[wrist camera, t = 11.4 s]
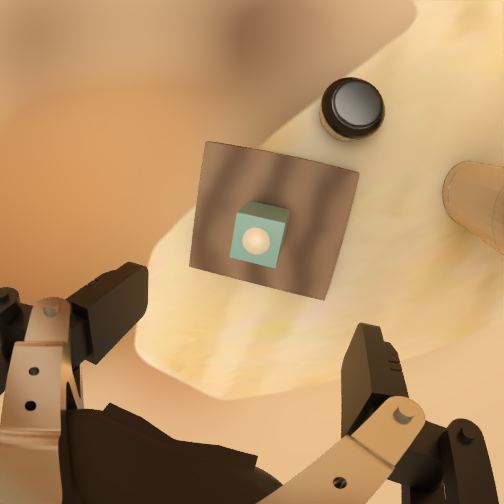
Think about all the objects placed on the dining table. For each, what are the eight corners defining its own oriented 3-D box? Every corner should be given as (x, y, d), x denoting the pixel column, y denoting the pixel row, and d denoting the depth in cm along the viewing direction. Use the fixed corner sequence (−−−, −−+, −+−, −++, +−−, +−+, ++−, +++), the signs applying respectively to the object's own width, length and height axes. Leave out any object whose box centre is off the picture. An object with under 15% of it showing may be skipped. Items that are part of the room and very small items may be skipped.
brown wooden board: (357, 172, 38) (368, 179, 30) (324, 294, 45) (324, 326, 36) (210, 141, 40) (184, 141, 32) (194, 261, 47) (169, 286, 39)
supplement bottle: (352, 151, 37) (367, 154, 26) (309, 120, 37) (306, 110, 26) (381, 111, 35) (406, 99, 24) (338, 80, 34) (346, 55, 23)
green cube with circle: (290, 209, 38) (285, 223, 32) (282, 248, 40) (275, 269, 34) (250, 200, 39) (236, 212, 33) (243, 239, 41) (229, 257, 35)
